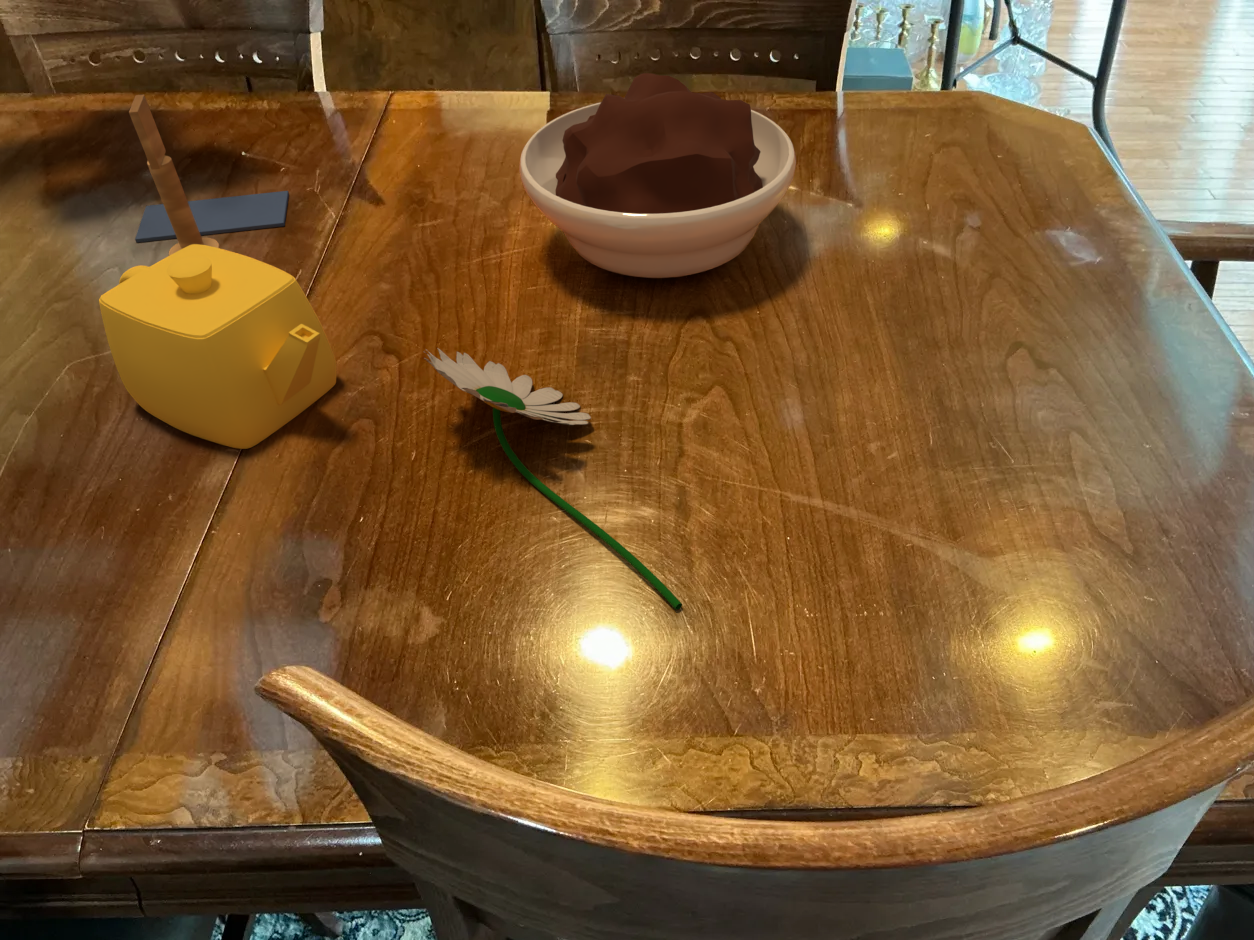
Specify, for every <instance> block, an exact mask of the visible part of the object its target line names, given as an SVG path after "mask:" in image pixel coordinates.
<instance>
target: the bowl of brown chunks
mask: <svg viewBox="0 0 1254 940" xmlns="http://www.w3.org/2000/svg"><path fill="white" fill-rule="evenodd" d="M796 165H797V155H796V151H795V147H794V144H793V142H792V140H791V138H790V137H789V136H788V134H787V133H786V132H785V130H784V129H783V128H782V127H781V126H779V124H777V123H776V122H775V121H774V120H772V119H771V118H769V117H767V116H766V115H763V114H762V113H760V112H758V111H756V110H753V109H752V107H751V104H749V103H747V102H746V101H744V100H742V99H736V100H735V99H723V98H721V97H720V96H719V95H717V94H716V93H714V92H713V91H709V92H692V91H691V90H690V88H688V87H687V85H685V84H684V83H683V82H682V81H680V80H679V79H678V78H675V77H673V76H670V75H665V74H663V75H661V74H656V73H650V72H649V73H648V72H644V73H642V72H641V73H640V74H638V75H637V76H635V77H634V78H633V80H632V81H631V84H630V85H629V87H628V89H627V91H626V94H625V96H623V97H622V96H621V95H616V94H611V93H610V94H609V93H606V94H605V95H604V97H603V98H602V100H601V101H599V102H596V103H592V104H588V105H585V106H582V107H579V108H576V109H574V110H571V111H568V112H566V113H564V114H561V115H560V116H558V117H556V118H554V119H552V120H550V121H549V122H547V123H546V124H544V125H543V126H541V127H540V128H539V129H538V130H537V131H536V132H535V133H533V134H532V136H531V137H530V138H529V139H528V140H527V142H526V144H525V145H524V147H523V148H522V151H521V154H520V158H519V163H518V170H519V175H520V179H521V180H520V181H521V185H522V187H523V189H524V191H525V193H526V194H527V196H528V198H529V199H530V200H531V202H532V203H533V205H534V206H535V207H536V209H538V210H539V212H541V214H542V215H543V216H544V217H545V218H546V219H547V220H548V221H549V222H550V223H552V224H553V225H554V226H556V227H557V228H558V229H559V230H561V232H562V233H563V235H564V236H565V238H566V240H567V241H568V242H569V244H570V245H571V246H572V248H573V249H574V250H575V252H576V253H577V254H578V255H579V256H580V257H581V258H583V260H585V261H587V262H588V263H590V264H591V265H594V266H596V267H598V268H601V269H603V270H605V271H608V272H612V273H615V274H619V275H623V276H629V277H635V278H643V279H645V278H646V279H647V278H648V279H671V278H680V277H686V276H691V275H692V276H693V275H696V274H699V273H704V272H706V271H709V270H712V269H715V268H718V267H720V266H722V265H724V264H726V263H728V262H730V261H731V260H733V259H735V258H736V257H737V256H739V255H740V254H742V252H743V251H745V249H747V247H748V246H749V244H750V243H751V241H752V240H753V238H754V236H755V235H756V233H757V231H758V229H759V226H760V224H761V223H762V222H763V221H764V220H766V218H767V217H768V216H769V215H770V214H771V213H772V212H773V211H774V210H775V209H776V207H777V206H778V205H779V204H780V202H782V200H783V199H784V197H785V195H786V194H787V192H788V190H789V188H790V186H791V185H792V182H793V180H794V178H795V173H796Z"/></svg>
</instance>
